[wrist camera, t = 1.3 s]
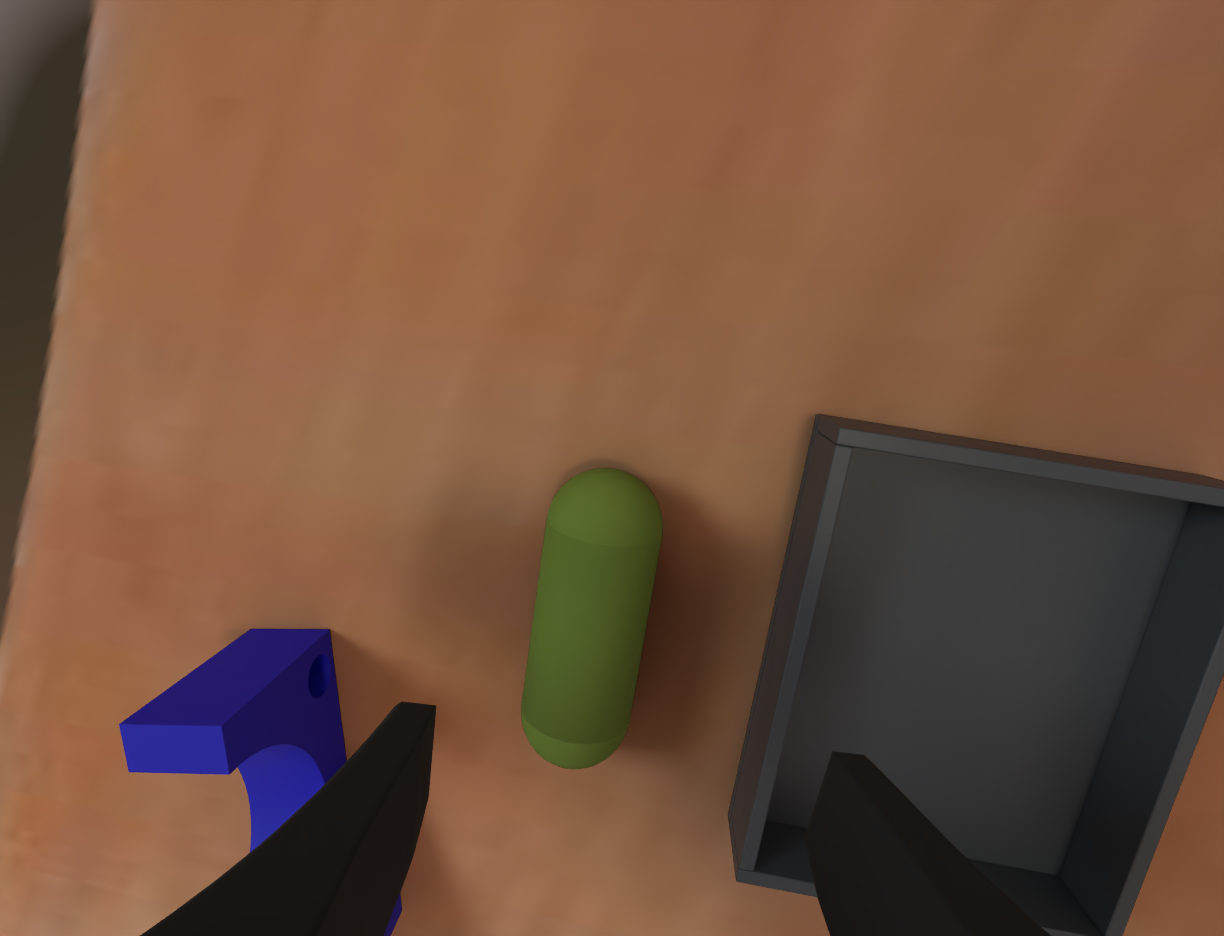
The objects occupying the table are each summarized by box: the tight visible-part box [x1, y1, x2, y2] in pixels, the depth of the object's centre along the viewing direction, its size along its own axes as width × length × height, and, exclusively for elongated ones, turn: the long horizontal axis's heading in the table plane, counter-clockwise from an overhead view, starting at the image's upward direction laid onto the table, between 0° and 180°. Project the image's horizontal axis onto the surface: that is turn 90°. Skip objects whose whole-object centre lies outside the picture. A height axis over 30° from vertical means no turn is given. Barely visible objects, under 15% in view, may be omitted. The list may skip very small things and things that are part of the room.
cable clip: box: [119, 629, 402, 936], centre depth 22 cm, size 12×4×6 cm, turn 2°
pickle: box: [521, 468, 663, 769], centre depth 21 cm, size 10×4×4 cm, turn 171°
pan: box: [728, 414, 1224, 936], centre depth 21 cm, size 15×12×3 cm
